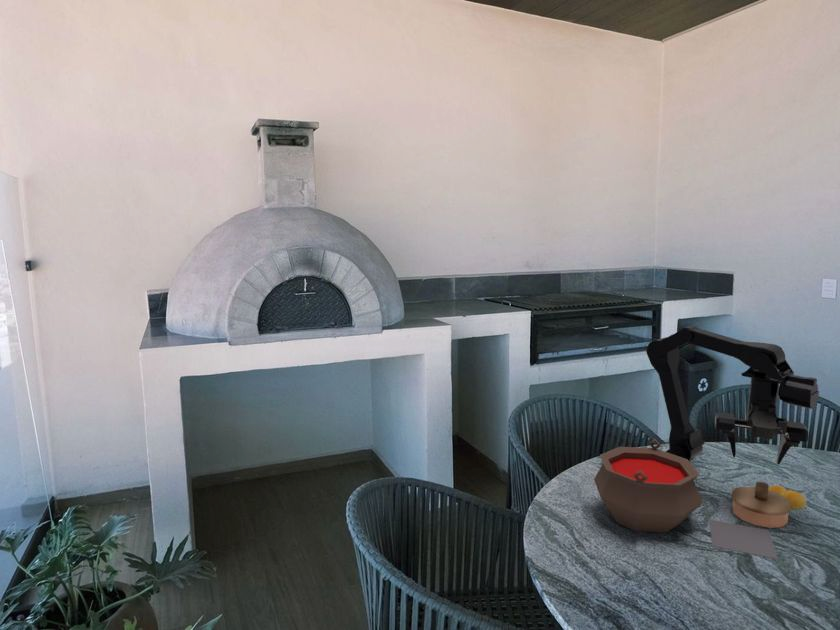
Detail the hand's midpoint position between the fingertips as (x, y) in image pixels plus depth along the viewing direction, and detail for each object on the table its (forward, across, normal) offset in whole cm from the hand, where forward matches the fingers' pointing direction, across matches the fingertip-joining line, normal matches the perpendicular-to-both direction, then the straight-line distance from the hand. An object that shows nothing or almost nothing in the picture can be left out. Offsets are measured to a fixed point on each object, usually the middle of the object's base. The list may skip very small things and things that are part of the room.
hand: (755, 460), depth 138 cm
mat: (+13, -3, -17) cm, 21 cm away
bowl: (+13, +2, -4) cm, 13 cm away
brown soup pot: (+13, -23, -15) cm, 31 cm away
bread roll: (+13, +8, +7) cm, 17 cm away
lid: (+9, +2, -4) cm, 10 cm away
